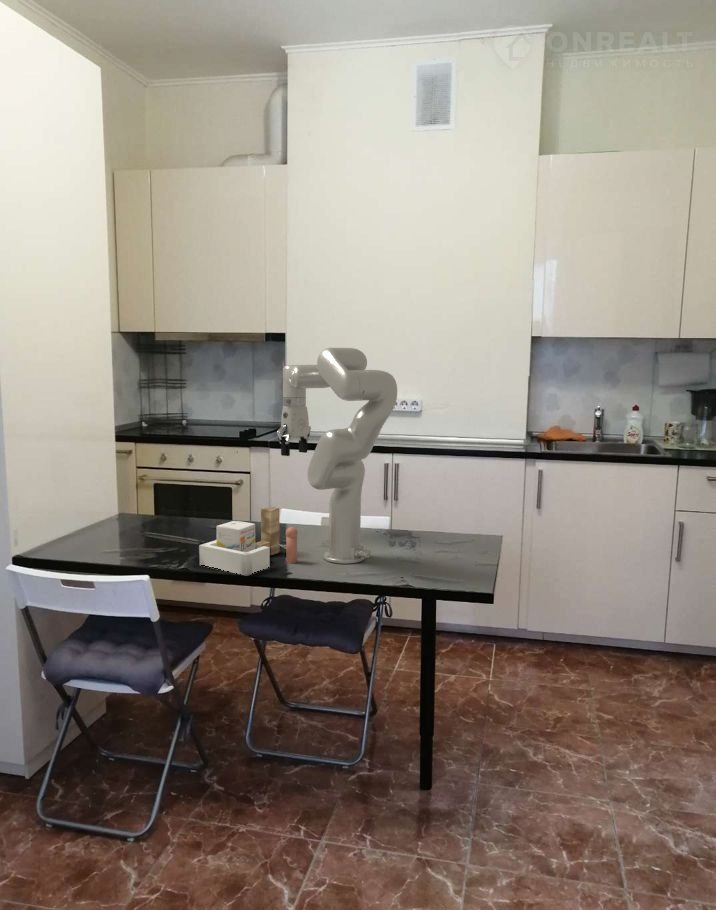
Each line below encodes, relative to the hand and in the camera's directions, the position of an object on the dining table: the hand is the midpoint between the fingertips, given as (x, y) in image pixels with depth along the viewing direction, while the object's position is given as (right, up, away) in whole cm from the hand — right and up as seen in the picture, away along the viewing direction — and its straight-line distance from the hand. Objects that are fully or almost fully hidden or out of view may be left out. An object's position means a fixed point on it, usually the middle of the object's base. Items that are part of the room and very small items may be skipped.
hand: (294, 453), depth 241 cm
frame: (-15, -33, -30) cm, 47 cm away
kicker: (-8, -31, -19) cm, 37 cm away
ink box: (-15, -33, -27) cm, 45 cm away
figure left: (+1, -32, -25) cm, 41 cm away
